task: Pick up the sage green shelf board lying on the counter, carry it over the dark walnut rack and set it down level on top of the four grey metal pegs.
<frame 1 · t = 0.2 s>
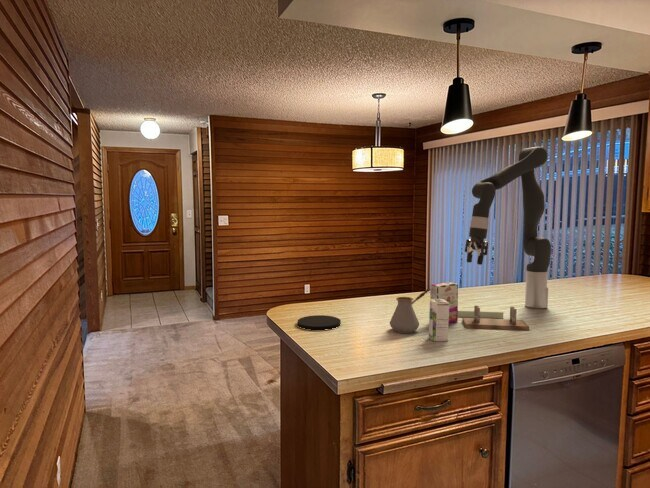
hand: (474, 263, 204), 23 cm above the counter, tool pointing down, fingers open, 8 cm apart
shelf board: (477, 316, 202), on the counter
candy bar box: (443, 322, 190), on the counter
wireless charger: (319, 325, 188), on the counter
coffee pot: (412, 328, 182), on the counter
syrup box: (438, 339, 168), on the counter
peg rack: (494, 325, 185), on the counter
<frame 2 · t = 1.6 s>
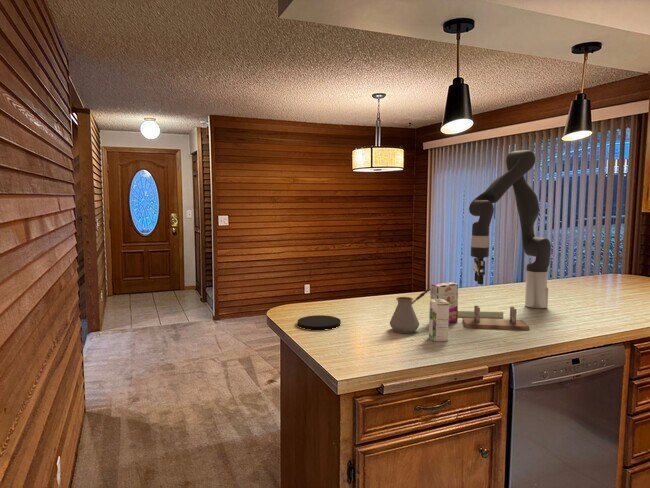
hand: (478, 282, 200), 15 cm above the counter, tool pointing down, fingers open, 8 cm apart
nothing on the counter moved.
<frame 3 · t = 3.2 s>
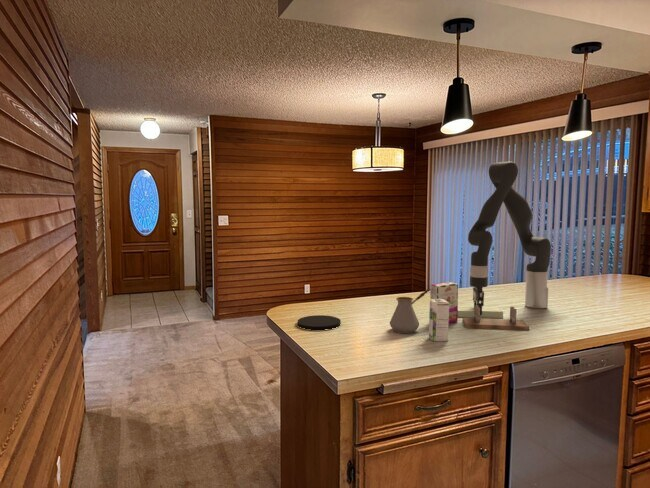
hand: (477, 312, 201), 1 cm above the counter, tool pointing down, fingers closed on shelf board, 6 cm apart
shelf board: (477, 316, 201), on the counter, touching gripper
everything else where it was.
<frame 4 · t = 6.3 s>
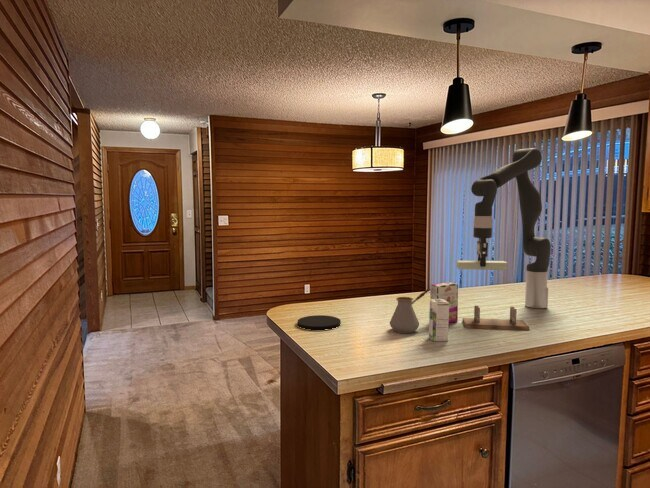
hand: (481, 265, 196), 23 cm above the counter, tool pointing down, fingers closed on shelf board, 6 cm apart
shelf board: (481, 268, 196), point 21 cm above the counter, touching gripper
everything else where it was.
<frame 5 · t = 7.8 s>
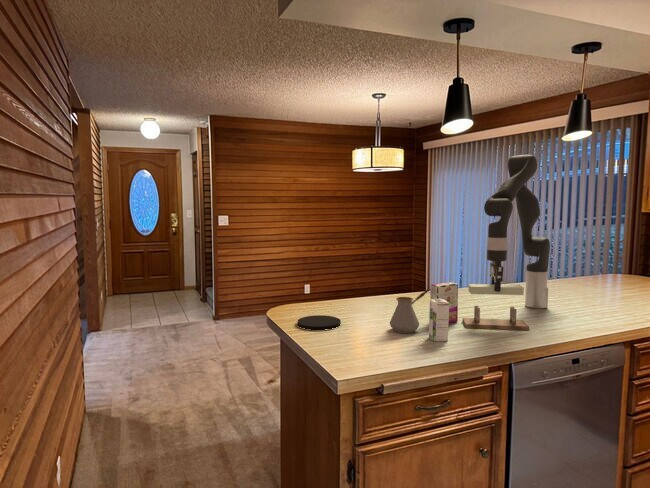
hand: (495, 289, 184), 15 cm above the counter, tool pointing down, fingers closed on shelf board, 6 cm apart
shelf board: (495, 293, 184), point 13 cm above the counter, touching gripper
everything else where it was.
when the fingers open (10 cm above the counter, at t = 9.3 s): shelf board stays where it is, resting on peg rack.
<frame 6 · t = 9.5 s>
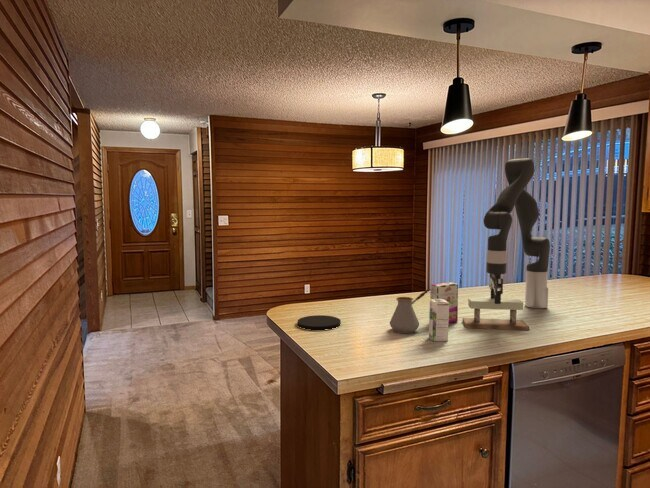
hand: (495, 301, 184), 10 cm above the counter, tool pointing down, fingers open, 8 cm apart
shelf board: (495, 307, 184), point 7 cm above the counter, touching peg rack
everything else where it was.
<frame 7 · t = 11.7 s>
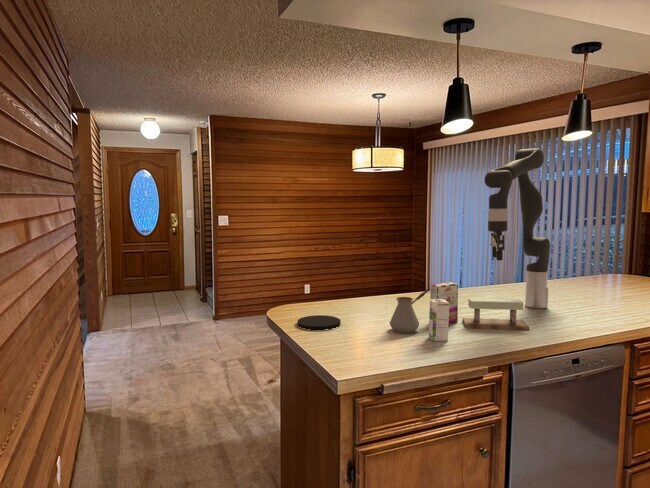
hand: (497, 258, 188), 27 cm above the counter, tool pointing down, fingers open, 8 cm apart
nothing on the counter moved.
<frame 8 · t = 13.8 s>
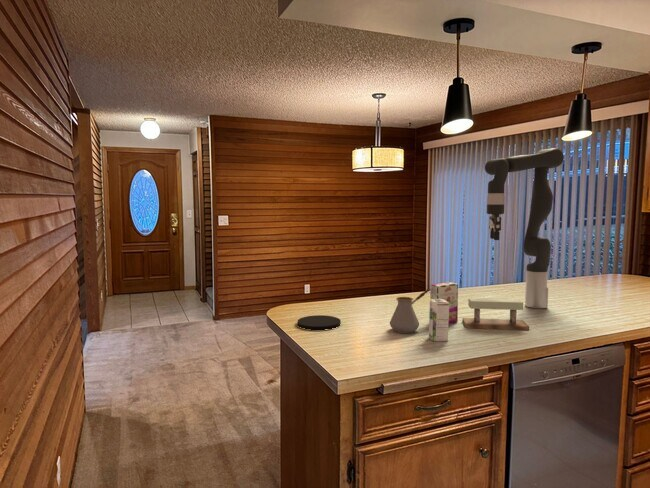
hand: (494, 239, 207), 33 cm above the counter, tool pointing down, fingers open, 8 cm apart
nothing on the counter moved.
at the end: shelf board 0.1 cm off-centre on the peg rack, point 7.5 cm above the peg rack's base; shelf board tilted 0°; the gripper is holding nothing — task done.
